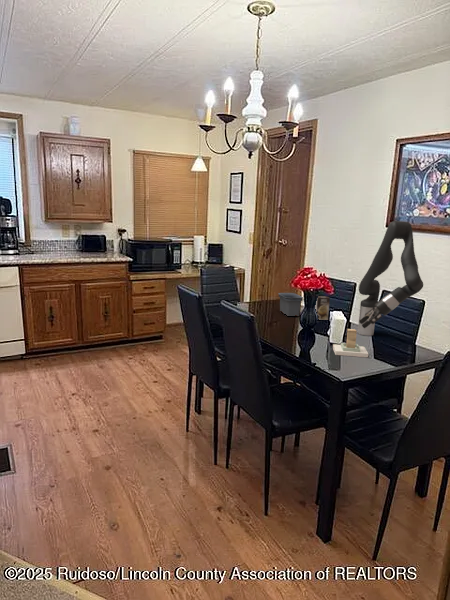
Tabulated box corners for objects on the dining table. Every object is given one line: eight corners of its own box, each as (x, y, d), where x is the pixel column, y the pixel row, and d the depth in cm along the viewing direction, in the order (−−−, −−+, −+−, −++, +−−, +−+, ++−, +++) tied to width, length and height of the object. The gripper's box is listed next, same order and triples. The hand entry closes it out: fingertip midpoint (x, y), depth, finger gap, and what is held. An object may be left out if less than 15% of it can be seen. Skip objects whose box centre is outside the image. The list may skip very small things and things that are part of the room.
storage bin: (275, 311, 310) (276, 292, 307) (295, 311, 313) (296, 292, 310) (285, 318, 289) (286, 297, 287) (306, 318, 293) (307, 297, 290)
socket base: (332, 347, 225) (333, 341, 225) (363, 350, 223) (364, 343, 223) (335, 354, 214) (335, 348, 213) (367, 357, 212) (368, 350, 211)
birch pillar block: (345, 347, 220) (347, 328, 218) (353, 348, 220) (355, 329, 218) (346, 349, 216) (348, 330, 215) (354, 350, 216) (356, 331, 214)
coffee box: (316, 321, 285) (318, 297, 282) (311, 318, 291) (313, 295, 288) (328, 320, 287) (330, 297, 284) (323, 318, 293) (325, 295, 290)
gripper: (379, 296, 218) (354, 316, 222) (385, 301, 204) (358, 322, 208) (388, 307, 218) (363, 326, 222) (395, 313, 204) (368, 333, 208)
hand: (361, 324), depth 215 cm, fingers open, 8 cm apart
